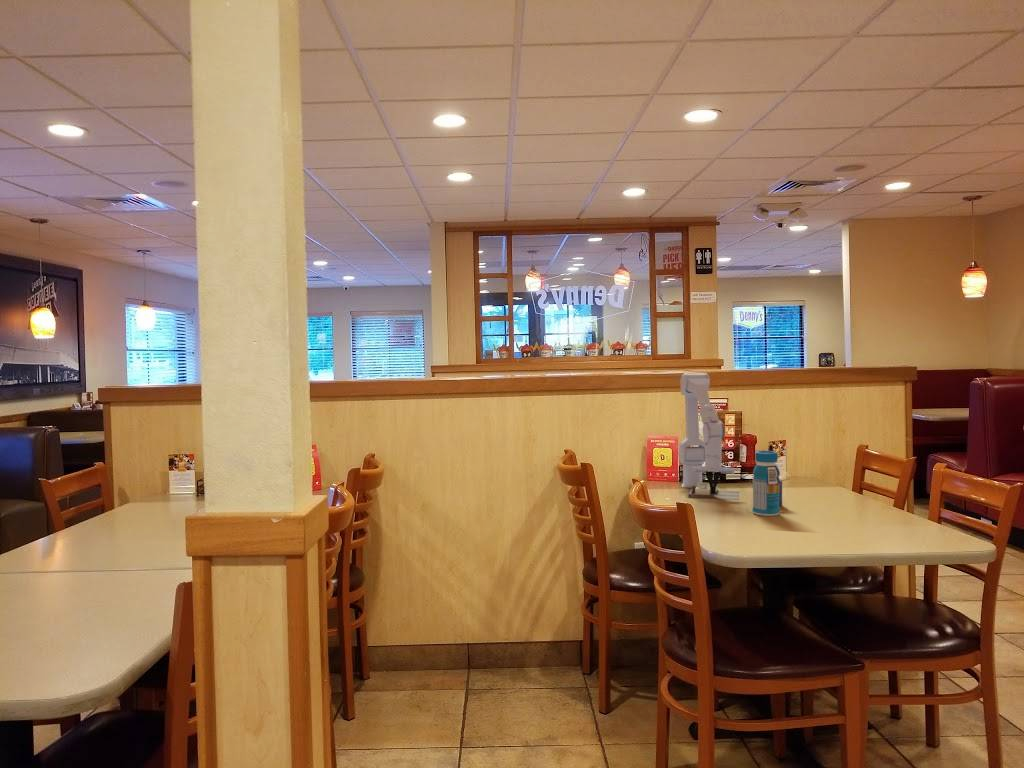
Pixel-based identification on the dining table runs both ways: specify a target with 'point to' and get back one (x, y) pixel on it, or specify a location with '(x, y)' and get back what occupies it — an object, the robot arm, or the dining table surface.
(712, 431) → the robot arm
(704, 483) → the twin pot
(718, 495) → the rack
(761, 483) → the beverage bottle
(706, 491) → the pot
